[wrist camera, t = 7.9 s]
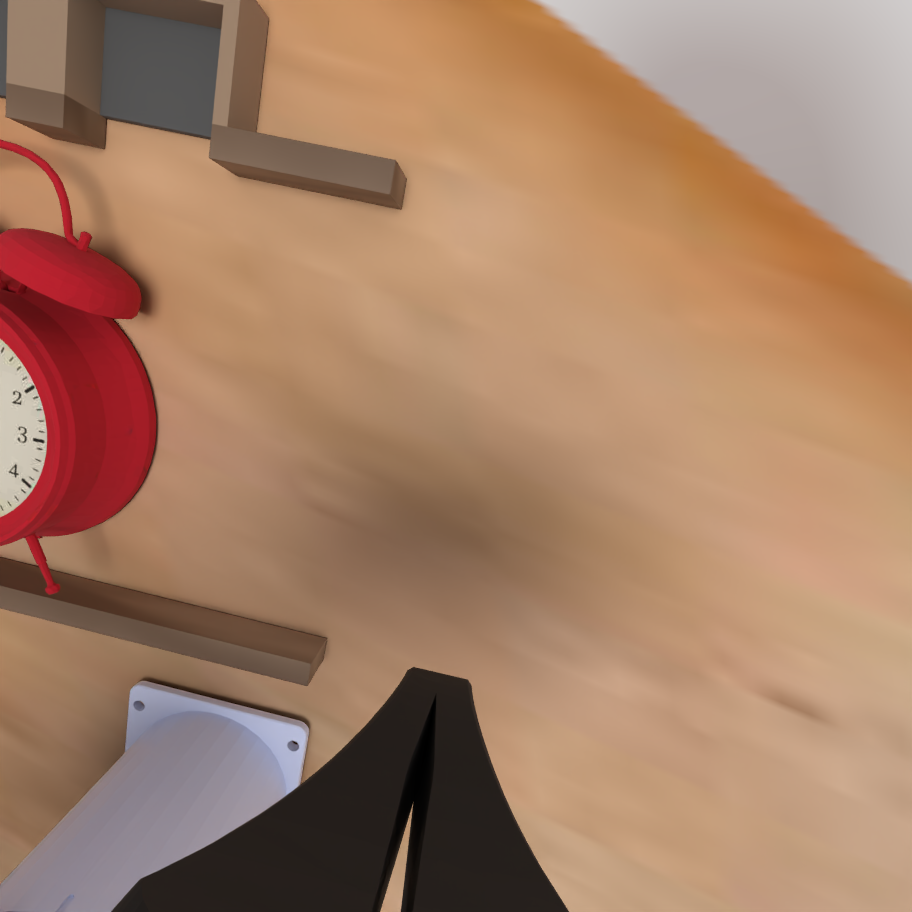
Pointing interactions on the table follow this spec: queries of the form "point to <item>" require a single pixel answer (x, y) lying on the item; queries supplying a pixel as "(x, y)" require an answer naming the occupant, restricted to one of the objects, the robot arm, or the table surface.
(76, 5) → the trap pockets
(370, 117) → the table surface
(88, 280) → the alarm clock
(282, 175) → the wall
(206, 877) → the robot arm
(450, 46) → the table surface
